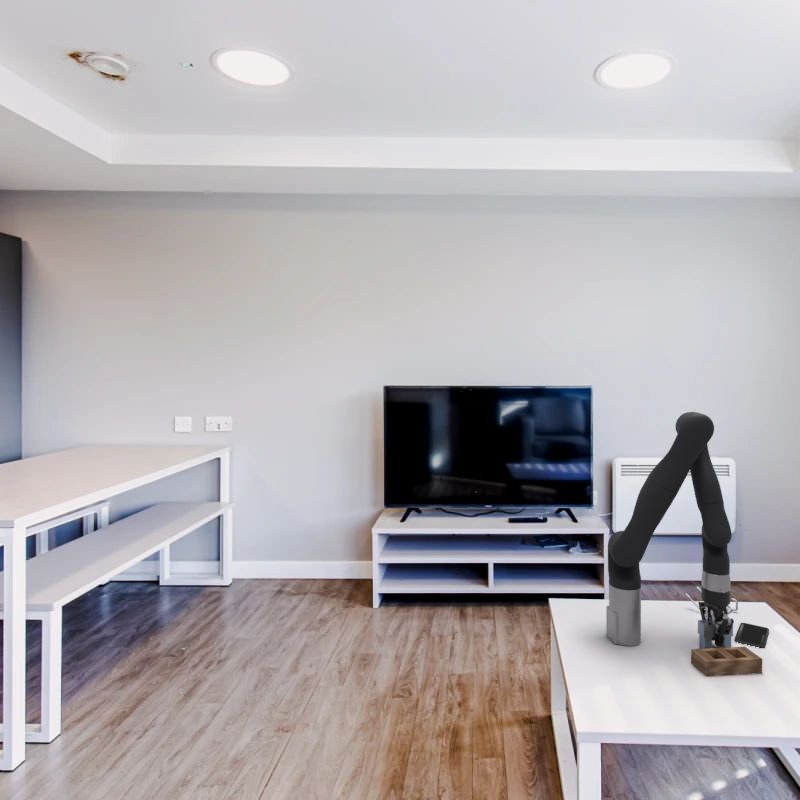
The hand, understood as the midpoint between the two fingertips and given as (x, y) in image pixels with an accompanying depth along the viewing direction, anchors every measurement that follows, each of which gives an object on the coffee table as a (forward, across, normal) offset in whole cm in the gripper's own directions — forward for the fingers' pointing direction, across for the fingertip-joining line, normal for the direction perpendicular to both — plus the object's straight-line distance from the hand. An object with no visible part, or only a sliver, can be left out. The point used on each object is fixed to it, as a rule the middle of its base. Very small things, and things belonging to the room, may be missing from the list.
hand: (715, 642), depth 168 cm
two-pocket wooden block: (+2, +11, -4) cm, 12 cm away
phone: (+2, -6, +16) cm, 17 cm away
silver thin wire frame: (+2, -25, +15) cm, 29 cm away
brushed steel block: (+2, 0, 0) cm, 2 cm away
